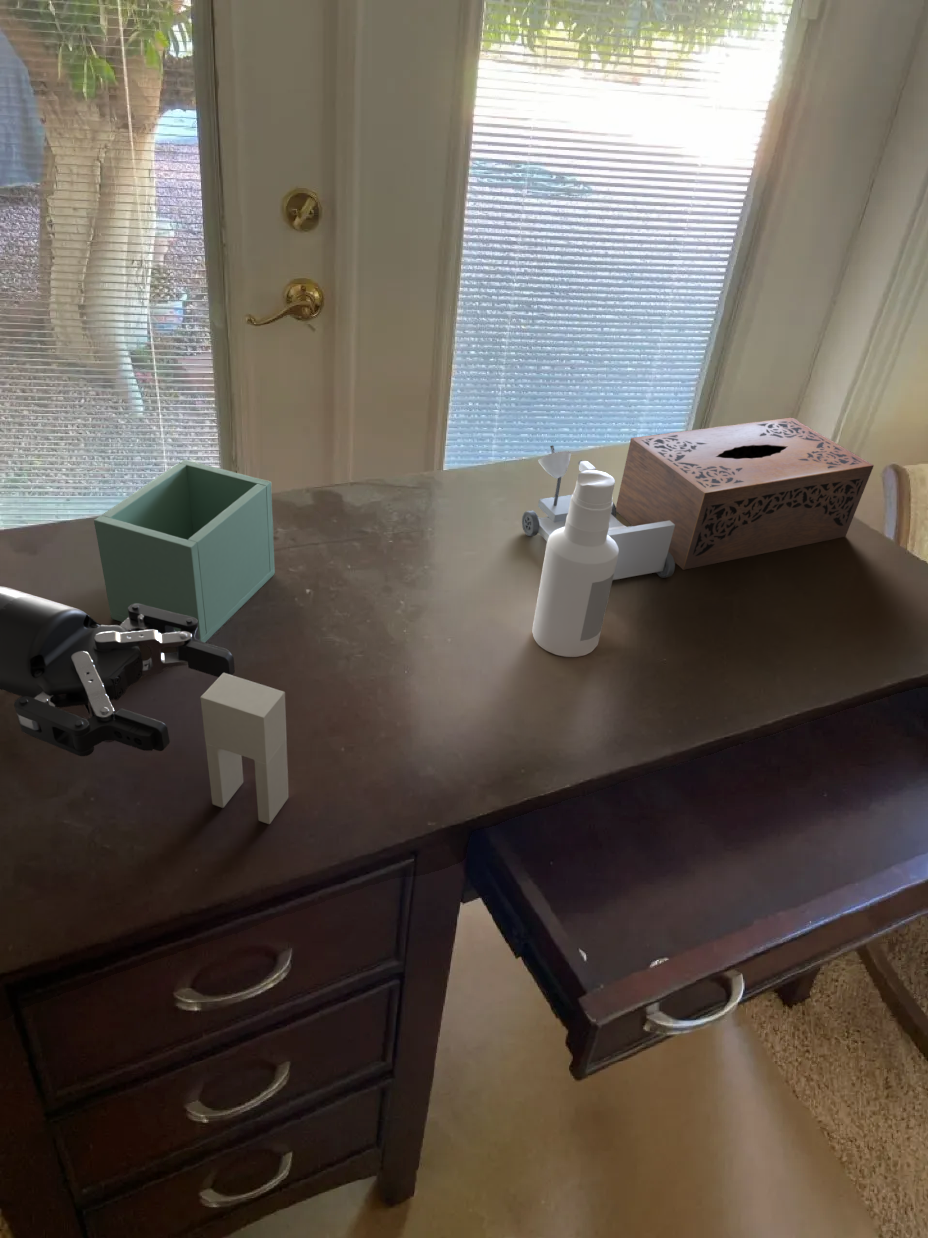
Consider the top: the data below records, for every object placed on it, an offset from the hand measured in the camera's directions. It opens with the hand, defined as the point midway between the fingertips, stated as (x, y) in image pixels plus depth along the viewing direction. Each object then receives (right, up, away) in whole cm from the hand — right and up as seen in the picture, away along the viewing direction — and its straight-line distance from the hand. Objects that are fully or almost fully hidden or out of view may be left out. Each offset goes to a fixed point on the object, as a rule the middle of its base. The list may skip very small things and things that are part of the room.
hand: (200, 700), depth 65 cm
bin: (-8, +8, +26) cm, 28 cm away
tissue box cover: (+53, +18, +49) cm, 74 cm away
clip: (+3, -8, +5) cm, 10 cm away
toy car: (+34, +14, +40) cm, 54 cm away
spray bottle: (+29, +4, +26) cm, 39 cm away
